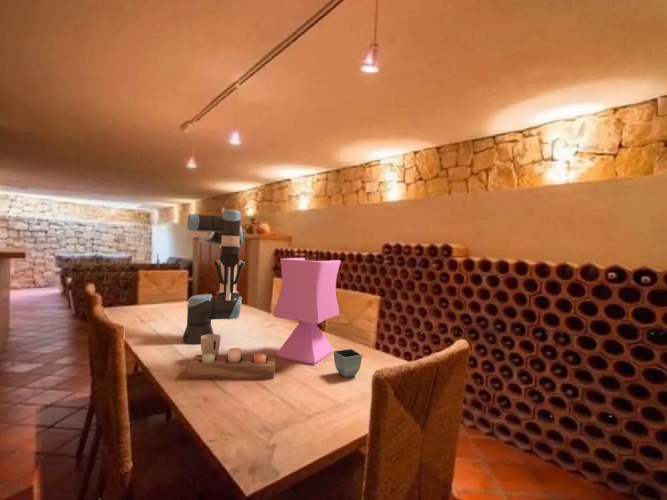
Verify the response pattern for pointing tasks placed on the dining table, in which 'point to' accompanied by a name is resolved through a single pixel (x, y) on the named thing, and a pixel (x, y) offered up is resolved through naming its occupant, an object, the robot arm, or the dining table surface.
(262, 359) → the button terracotta
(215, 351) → the cup
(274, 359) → the brown wooden long block
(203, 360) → the button sage
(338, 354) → the flower pot
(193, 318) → the robot arm
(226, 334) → the dining table surface
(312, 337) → the pink table lamp
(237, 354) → the peach rounded knob
